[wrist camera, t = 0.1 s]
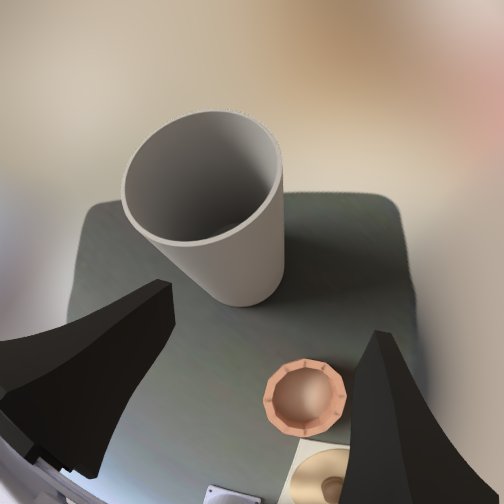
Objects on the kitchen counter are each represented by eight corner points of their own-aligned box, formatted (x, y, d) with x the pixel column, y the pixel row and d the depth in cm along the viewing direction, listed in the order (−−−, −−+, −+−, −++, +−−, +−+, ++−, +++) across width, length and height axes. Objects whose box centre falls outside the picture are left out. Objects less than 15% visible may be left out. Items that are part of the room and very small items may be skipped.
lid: (355, 516, 29) (361, 528, 25) (279, 508, 31) (279, 521, 27) (382, 452, 32) (391, 460, 28) (303, 442, 34) (305, 451, 30)
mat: (356, 516, 29) (357, 518, 28) (275, 508, 31) (275, 509, 31) (385, 448, 33) (386, 449, 32) (300, 437, 35) (301, 438, 35)
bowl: (327, 432, 35) (333, 442, 30) (258, 418, 37) (255, 426, 32) (346, 366, 38) (354, 367, 33) (276, 352, 40) (275, 352, 35)
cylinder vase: (289, 232, 46) (290, 111, 22) (277, 313, 42) (268, 258, 18) (210, 223, 48) (151, 111, 24) (193, 300, 44) (100, 236, 20)
